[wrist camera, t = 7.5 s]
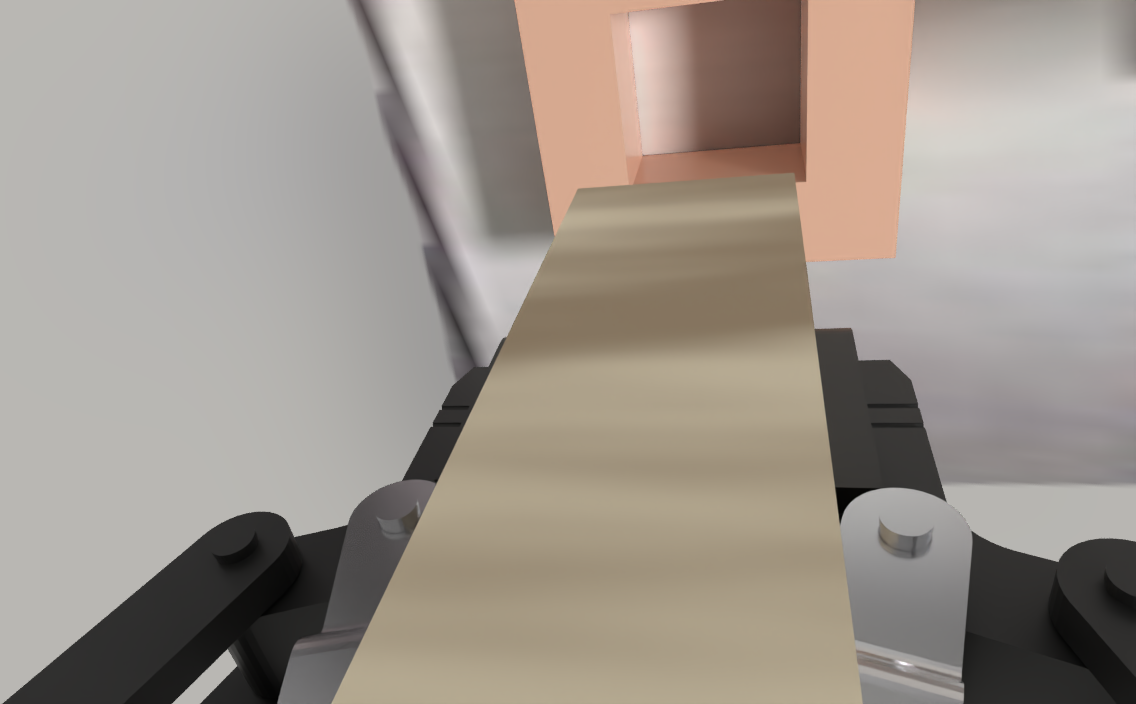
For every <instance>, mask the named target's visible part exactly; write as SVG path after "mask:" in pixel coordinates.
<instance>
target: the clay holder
mask: <svg viewBox="0 0 1136 704" xmlns="http://www.w3.org/2000/svg"><path fill="white" fill-rule="evenodd" d="M714 1H722V0H514V2H515V7H516V13H517V19H518V25H519V31H520V37H521V43H522V49H523V54H524V60H525V66H526V72H527V78H528V84H529V90H530V95H531V101H532V107H533V113H534V119H535V125H536V131H537V137H538V142H539V148H540V154H541V160H542V166H543V172H544V178H545V183H546V189H547V195H548V201H549V207H550V213H551V219H552V225H553V230H554V236H556V233H557V231H558V229H559V227H560V225H561V223H562V221H563V219H564V217H565V215H566V213H567V210H568V208H569V206H570V204H571V202H572V200H573V198H574V196H575V194H576V192H577V190H578V189H579V188H593V187H607V186H620V185H634V184H648V183H661V182H675V181H688V180H702V179H716V178H729V177H743V176H757V175H770V174H784V173H794V174H795V182H796V190H797V198H798V205H799V213H800V221H801V228H802V236H803V244H804V252H805V259H806V262H815V261H836V260H857V259H878V258H895V257H896V244H897V231H898V218H899V205H900V192H901V179H902V166H903V152H904V139H905V126H906V113H907V100H908V87H909V74H910V61H911V48H912V35H913V22H914V9H915V0H801V90H800V143H794V144H781V145H769V146H757V147H744V148H732V149H720V150H708V151H695V152H683V153H671V154H658V155H646V156H642V146H641V136H640V126H639V116H638V107H637V97H636V87H635V77H634V67H633V57H632V47H631V37H630V28H629V18H628V12H634V11H642V10H650V9H658V8H666V7H674V6H682V5H690V4H698V3H706V2H714Z"/></svg>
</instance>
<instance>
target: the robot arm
mask: <svg viewBox="0 0 1136 704" xmlns="http://www.w3.org/2000/svg"><path fill="white" fill-rule="evenodd" d="M815 337H816V345H817V352H818V360H819V368H820V376H821V383H822V391H823V399H824V407H825V414H826V422H827V430H828V438H829V445H830V453H831V461H832V469H833V476H834V484H835V492H836V499H837V507H838V515H839V523H840V530H841V538H842V546H843V554H844V561H845V569H846V577H847V585H848V592H849V600H850V608H851V616H852V623H853V631H854V639H855V647H856V654H857V662H858V670H859V678H860V685H861V693H862V701H863V704H1136V542H1134V541H1129V540H1122V539H1094V540H1088V541H1085V542H1081V543H1078V544H1076V545H1074V546H1072V547H1071V548H1069V549H1068V550H1067V551H1066V552H1065V553H1064V554H1063V555H1062V557H1061V558H1060V560H1059V562H1056V561H1052V560H1048V559H1044V558H1040V557H1036V556H1032V555H1028V554H1025V553H1021V552H1017V551H1013V550H1010V549H1007V548H1004V547H1001V546H999V545H996V544H994V543H991V542H989V541H988V540H986V539H984V538H982V537H980V536H978V535H977V534H975V533H974V532H972V531H971V529H970V527H969V525H968V523H967V522H966V520H965V518H964V517H963V516H962V515H961V514H960V512H959V511H957V510H956V509H955V508H954V507H953V506H951V505H950V504H948V503H947V502H946V499H945V495H944V492H943V488H942V485H941V481H940V478H939V474H938V471H937V468H936V464H935V461H934V457H933V454H932V450H931V447H930V444H929V440H928V437H927V433H926V430H925V428H924V427H923V420H922V416H921V413H920V409H919V408H918V402H917V399H916V396H915V392H914V389H913V385H912V382H911V380H910V379H909V378H908V377H907V376H906V375H905V374H904V373H903V372H902V371H901V370H900V369H899V368H898V367H897V366H896V365H895V364H894V363H892V362H891V361H890V360H865V361H858V356H857V351H856V347H855V342H854V337H853V332H852V329H851V328H834V329H815ZM506 338H507V337H505V338H503V339H502V340H501V342H500V344H499V346H498V348H497V350H496V353H495V355H494V357H493V359H492V361H491V363H490V365H489V367H474V368H473V369H471V370H470V371H469V372H468V373H467V374H466V375H464V376H463V377H462V378H461V379H460V380H459V381H457V382H456V383H455V384H454V385H453V386H452V388H451V390H450V392H449V394H448V396H447V397H446V399H445V401H444V403H443V405H442V410H439V413H438V414H437V416H436V418H435V420H434V422H433V427H431V428H430V429H429V431H428V433H427V435H426V437H425V439H424V440H423V442H422V444H421V446H420V448H419V450H418V452H417V454H416V456H415V458H414V459H413V461H412V463H411V465H410V467H409V469H408V471H407V472H406V474H405V476H404V478H403V480H402V481H400V482H396V483H393V484H390V485H387V486H385V487H382V488H380V489H378V490H377V491H375V492H373V493H372V494H371V495H369V496H368V497H366V498H365V499H364V500H363V501H362V502H361V503H360V504H359V505H358V506H357V507H356V508H355V510H354V511H353V513H352V515H351V517H350V520H349V523H348V525H346V526H342V527H338V528H334V529H330V530H325V531H320V532H316V533H312V534H307V535H302V536H298V537H294V536H293V534H292V532H291V529H290V527H289V525H288V523H287V521H286V520H285V519H284V518H283V517H281V516H279V515H278V514H274V513H271V512H252V513H246V514H243V515H240V516H236V517H234V518H231V519H229V520H227V521H225V522H223V523H221V524H219V525H217V526H216V527H214V528H213V529H211V530H210V531H208V532H207V533H206V534H205V535H203V536H202V537H201V538H200V539H198V540H197V541H196V542H195V543H194V544H192V546H190V547H189V548H188V549H187V550H185V551H184V552H183V553H182V554H181V555H180V556H178V557H177V558H176V559H175V560H173V561H172V562H171V563H170V564H169V565H167V566H166V567H165V568H164V569H163V570H161V571H160V572H159V573H158V574H157V575H156V576H154V577H153V578H152V579H151V580H149V581H148V582H147V583H146V584H145V585H144V586H142V587H141V588H140V589H139V590H138V591H136V592H135V593H134V594H133V595H132V596H130V597H129V598H128V599H127V600H126V601H124V602H123V603H122V604H121V605H120V606H119V607H117V608H116V609H115V610H114V611H112V612H111V613H110V614H109V615H108V616H107V617H105V618H104V619H103V620H102V621H101V622H100V623H98V624H97V625H96V626H95V627H93V628H92V629H91V630H90V631H89V632H87V633H86V634H85V635H84V636H83V637H81V638H80V639H79V640H78V641H77V642H75V643H74V644H73V645H72V646H71V647H69V648H68V649H67V650H66V651H65V652H64V653H62V654H61V655H60V656H59V657H58V658H56V659H55V660H54V661H53V662H52V663H50V664H49V665H48V666H47V667H46V668H44V669H43V670H42V671H41V672H40V673H38V674H37V675H36V676H35V677H34V678H32V679H31V680H30V681H29V682H28V683H27V684H25V685H24V686H23V687H22V688H21V689H19V690H18V691H17V692H16V693H15V694H13V695H12V696H11V697H10V698H9V699H7V701H5V702H4V703H3V704H172V703H173V702H174V701H175V700H176V699H177V698H178V697H179V696H180V695H181V694H182V693H183V692H184V691H185V690H186V689H187V688H188V687H189V686H190V685H191V684H192V683H193V682H194V681H195V680H196V679H197V678H198V677H199V676H200V675H201V674H202V673H203V672H204V671H205V670H206V669H208V668H209V667H210V666H211V665H212V664H213V663H214V662H215V661H216V659H218V658H219V657H220V656H221V655H222V654H223V653H224V652H225V651H226V650H227V649H228V650H229V652H230V654H231V655H232V657H233V659H234V660H235V662H236V664H237V667H236V668H235V669H234V670H233V671H232V672H231V673H230V674H229V675H228V676H227V677H226V678H225V679H224V680H223V681H222V682H221V683H220V684H219V685H218V686H217V687H216V688H215V689H214V691H212V692H211V693H210V694H209V696H207V697H206V699H204V700H203V702H202V703H201V704H331V703H332V701H333V699H334V697H335V695H336V693H337V691H338V689H339V687H340V685H341V683H342V680H343V678H344V676H345V674H346V672H347V670H348V668H349V666H350V664H351V662H352V660H353V657H354V655H355V653H356V651H357V649H358V647H359V645H360V643H361V641H362V639H363V637H364V634H365V632H366V630H367V628H368V626H369V624H370V622H371V620H372V618H373V616H374V614H375V611H376V609H377V607H378V605H379V603H380V601H381V599H382V597H383V595H384V593H385V591H386V589H387V586H388V584H389V582H390V580H391V578H392V576H393V574H394V572H395V570H396V568H397V566H398V563H399V561H400V559H401V557H402V555H403V553H404V551H405V549H406V547H407V545H408V543H409V540H410V538H411V536H412V534H413V532H414V530H415V528H416V526H417V524H418V522H419V520H420V518H421V515H422V513H423V511H424V509H425V507H426V505H427V503H428V501H429V499H430V497H431V495H432V492H433V490H434V488H435V486H436V484H437V482H438V480H439V478H440V476H441V474H442V472H443V469H444V467H445V465H446V463H447V461H448V459H449V457H450V455H451V453H452V451H453V449H454V447H455V444H456V442H457V440H458V438H459V436H460V434H461V432H462V430H463V428H464V426H465V424H466V421H467V419H468V417H469V415H470V413H471V411H472V409H473V407H474V405H475V403H476V401H477V398H478V396H479V394H480V392H481V390H482V388H483V386H484V384H485V382H486V380H487V378H488V375H489V373H490V371H491V369H492V367H493V365H494V363H495V361H496V359H497V357H498V355H499V353H500V350H501V348H502V346H503V344H504V342H505V340H506Z"/></svg>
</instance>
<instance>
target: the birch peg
mask: <svg viewBox="0 0 1136 704" xmlns="http://www.w3.org/2000/svg"><path fill="white" fill-rule="evenodd" d="M331 704H863V701H862V693H861V685H860V678H859V670H858V662H857V654H856V647H855V639H854V631H853V623H852V616H851V608H850V600H849V592H848V585H847V577H846V569H845V561H844V554H843V546H842V538H841V530H840V523H839V515H838V507H837V499H836V492H835V484H834V476H833V469H832V461H831V453H830V445H829V438H828V430H827V422H826V414H825V407H824V399H823V391H822V383H821V376H820V368H819V360H818V352H817V345H816V337H815V329H814V321H813V314H812V306H811V298H810V290H809V283H808V275H807V267H806V259H805V252H804V244H803V236H802V228H801V221H800V213H799V205H798V198H797V190H796V182H795V174H794V173H784V174H770V175H757V176H743V177H729V178H716V179H702V180H688V181H675V182H661V183H648V184H634V185H620V186H607V187H593V188H579V189H578V190H577V192H576V194H575V196H574V198H573V200H572V202H571V204H570V206H569V208H568V210H567V213H566V215H565V217H564V219H563V221H562V223H561V225H560V227H559V229H558V231H557V233H556V236H555V238H554V240H553V242H552V244H551V246H550V248H549V250H548V252H547V254H546V256H545V259H544V261H543V263H542V265H541V267H540V269H539V271H538V273H537V275H536V277H535V279H534V282H533V284H532V286H531V288H530V290H529V292H528V294H527V296H526V298H525V300H524V302H523V304H522V307H521V309H520V311H519V313H518V315H517V317H516V319H515V321H514V323H513V325H512V327H511V330H510V332H509V334H508V336H507V338H506V340H505V342H504V344H503V346H502V348H501V350H500V353H499V355H498V357H497V359H496V361H495V363H494V365H493V367H492V369H491V371H490V373H489V375H488V378H487V380H486V382H485V384H484V386H483V388H482V390H481V392H480V394H479V396H478V398H477V401H476V403H475V405H474V407H473V409H472V411H471V413H470V415H469V417H468V419H467V421H466V424H465V426H464V428H463V430H462V432H461V434H460V436H459V438H458V440H457V442H456V444H455V447H454V449H453V451H452V453H451V455H450V457H449V459H448V461H447V463H446V465H445V467H444V469H443V472H442V474H441V476H440V478H439V480H438V482H437V484H436V486H435V488H434V490H433V492H432V495H431V497H430V499H429V501H428V503H427V505H426V507H425V509H424V511H423V513H422V515H421V518H420V520H419V522H418V524H417V526H416V528H415V530H414V532H413V534H412V536H411V538H410V540H409V543H408V545H407V547H406V549H405V551H404V553H403V555H402V557H401V559H400V561H399V563H398V566H397V568H396V570H395V572H394V574H393V576H392V578H391V580H390V582H389V584H388V586H387V589H386V591H385V593H384V595H383V597H382V599H381V601H380V603H379V605H378V607H377V609H376V611H375V614H374V616H373V618H372V620H371V622H370V624H369V626H368V628H367V630H366V632H365V634H364V637H363V639H362V641H361V643H360V645H359V647H358V649H357V651H356V653H355V655H354V657H353V660H352V662H351V664H350V666H349V668H348V670H347V672H346V674H345V676H344V678H343V680H342V683H341V685H340V687H339V689H338V691H337V693H336V695H335V697H334V699H333V701H332V703H331Z"/></svg>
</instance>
